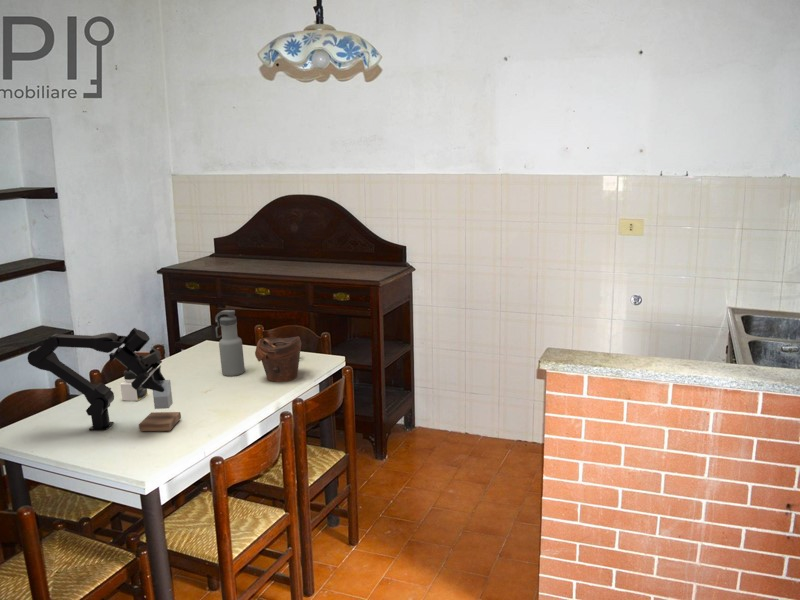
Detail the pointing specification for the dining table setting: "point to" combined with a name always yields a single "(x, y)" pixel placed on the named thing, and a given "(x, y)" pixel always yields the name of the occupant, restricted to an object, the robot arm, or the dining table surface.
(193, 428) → the dining table surface
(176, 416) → the walnut stand
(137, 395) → the medicine bottle
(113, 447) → the dining table surface
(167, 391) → the block
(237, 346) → the water bottle
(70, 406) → the dining table surface
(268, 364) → the case
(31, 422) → the dining table surface
